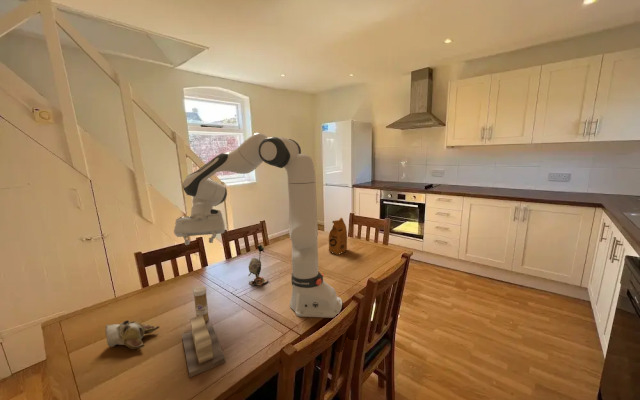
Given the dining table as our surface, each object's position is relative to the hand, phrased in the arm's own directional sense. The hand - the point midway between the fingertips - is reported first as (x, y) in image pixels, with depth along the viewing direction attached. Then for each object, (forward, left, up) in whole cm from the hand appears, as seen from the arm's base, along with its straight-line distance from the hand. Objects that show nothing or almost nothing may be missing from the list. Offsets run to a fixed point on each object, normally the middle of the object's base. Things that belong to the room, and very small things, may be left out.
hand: (199, 243), depth 108 cm
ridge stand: (-19, +23, -28) cm, 41 cm away
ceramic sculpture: (+8, +27, -28) cm, 40 cm away
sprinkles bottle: (-8, +10, -28) cm, 31 cm away
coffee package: (-44, -74, -28) cm, 90 cm away
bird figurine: (-13, -23, -28) cm, 38 cm away
